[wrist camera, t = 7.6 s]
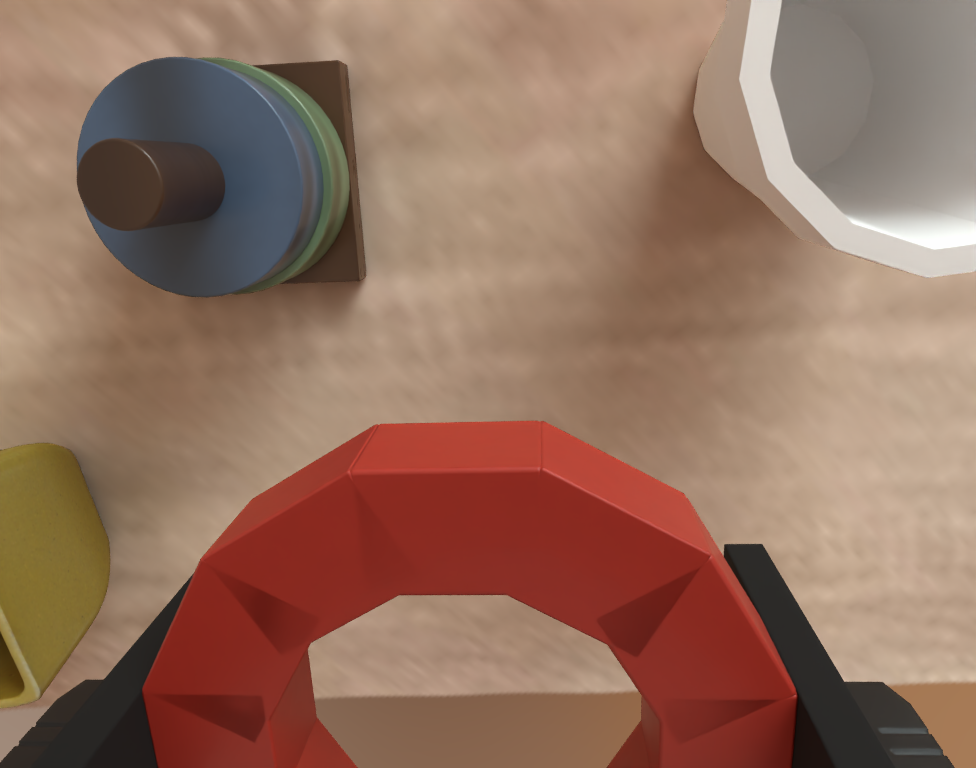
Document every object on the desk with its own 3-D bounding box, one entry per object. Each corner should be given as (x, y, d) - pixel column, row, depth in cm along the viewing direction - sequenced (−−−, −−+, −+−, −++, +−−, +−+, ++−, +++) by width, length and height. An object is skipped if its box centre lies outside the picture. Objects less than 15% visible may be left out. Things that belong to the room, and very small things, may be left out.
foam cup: (841, -107, 25) (1137, -380, 13) (961, 129, 27) (1324, 96, 14) (602, 66, 27) (653, -21, 15) (728, 274, 29) (869, 356, 16)
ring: (773, 413, 12) (820, 463, 10) (741, 897, 14) (772, 1009, 12) (162, 426, 12) (94, 474, 10) (244, 883, 15) (202, 988, 13)
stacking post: (347, 64, 28) (243, 10, 18) (366, 276, 30) (283, 328, 20) (143, 76, 28) (-60, 30, 19) (177, 283, 31) (11, 336, 21)
